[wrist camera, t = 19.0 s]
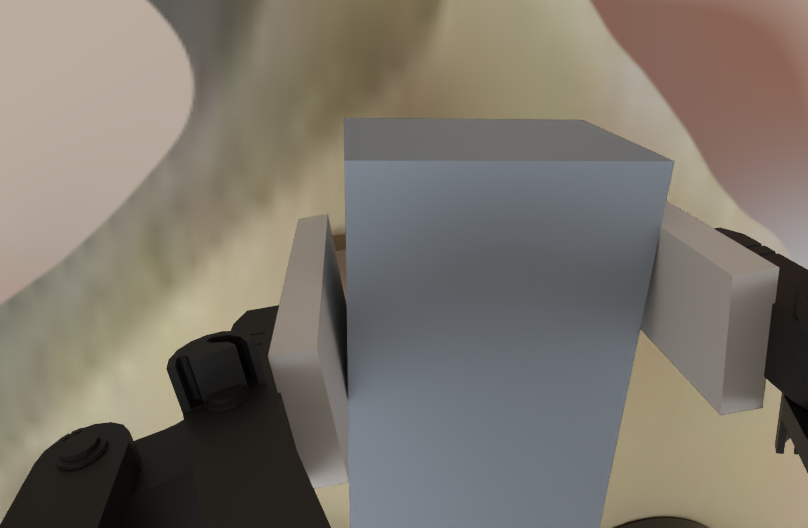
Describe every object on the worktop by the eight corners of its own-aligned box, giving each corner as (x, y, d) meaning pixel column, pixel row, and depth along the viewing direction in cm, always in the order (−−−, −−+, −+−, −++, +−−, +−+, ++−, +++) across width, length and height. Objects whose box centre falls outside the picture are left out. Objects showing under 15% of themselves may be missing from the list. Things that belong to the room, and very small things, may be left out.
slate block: (541, 413, 18) (598, 528, 14) (348, 421, 18) (350, 543, 14) (582, 120, 15) (674, 161, 11) (344, 117, 14) (344, 160, 10)
